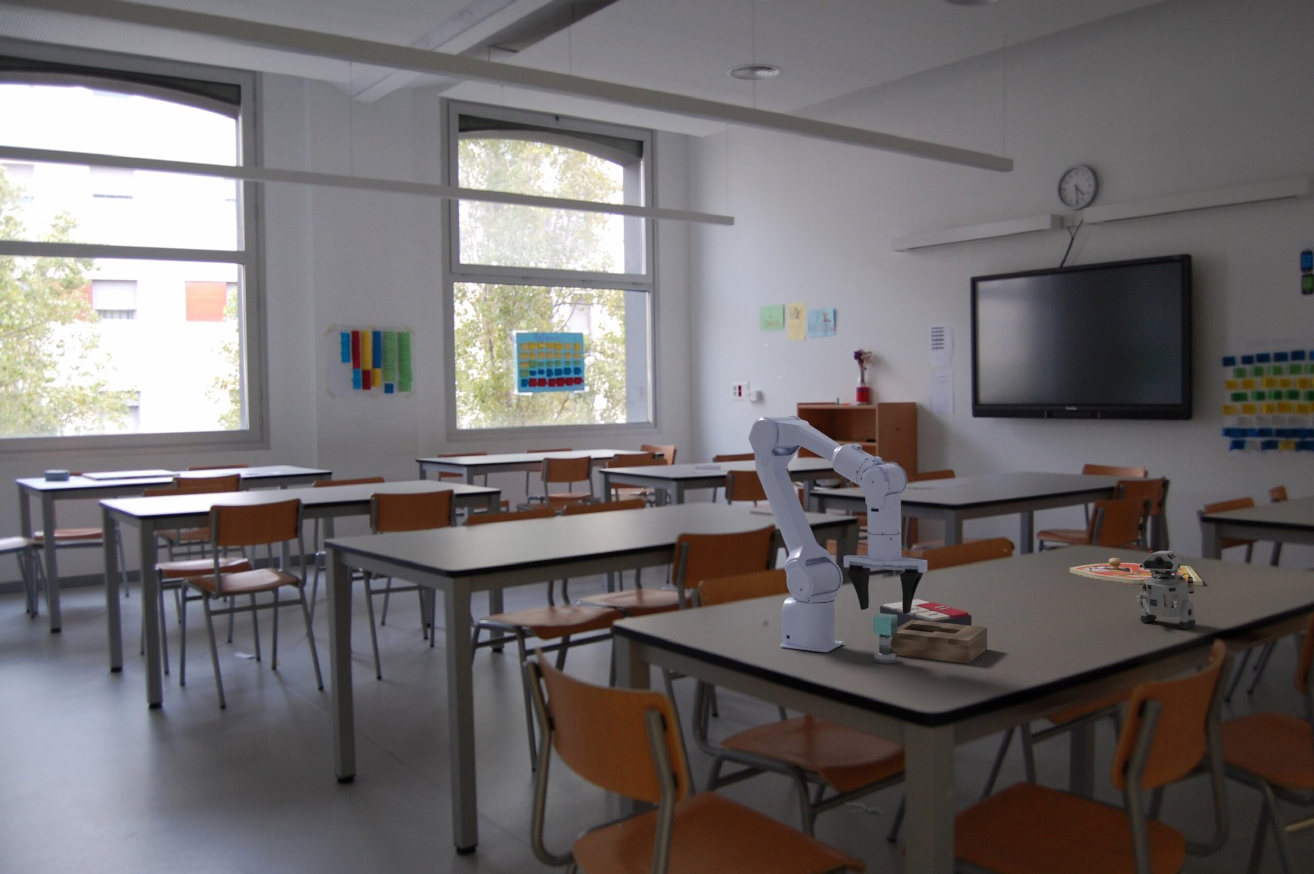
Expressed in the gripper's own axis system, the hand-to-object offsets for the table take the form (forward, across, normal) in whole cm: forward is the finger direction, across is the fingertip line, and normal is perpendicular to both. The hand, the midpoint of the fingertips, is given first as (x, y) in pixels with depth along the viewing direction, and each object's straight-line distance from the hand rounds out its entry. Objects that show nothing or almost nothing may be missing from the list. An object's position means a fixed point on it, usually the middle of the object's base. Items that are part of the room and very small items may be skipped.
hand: (885, 610), depth 178 cm
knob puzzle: (+10, +24, +114) cm, 117 cm away
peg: (+9, 0, 0) cm, 9 cm away
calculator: (+10, -3, +32) cm, 33 cm away
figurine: (+9, +38, +52) cm, 65 cm away
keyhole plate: (+9, +6, +11) cm, 15 cm away
